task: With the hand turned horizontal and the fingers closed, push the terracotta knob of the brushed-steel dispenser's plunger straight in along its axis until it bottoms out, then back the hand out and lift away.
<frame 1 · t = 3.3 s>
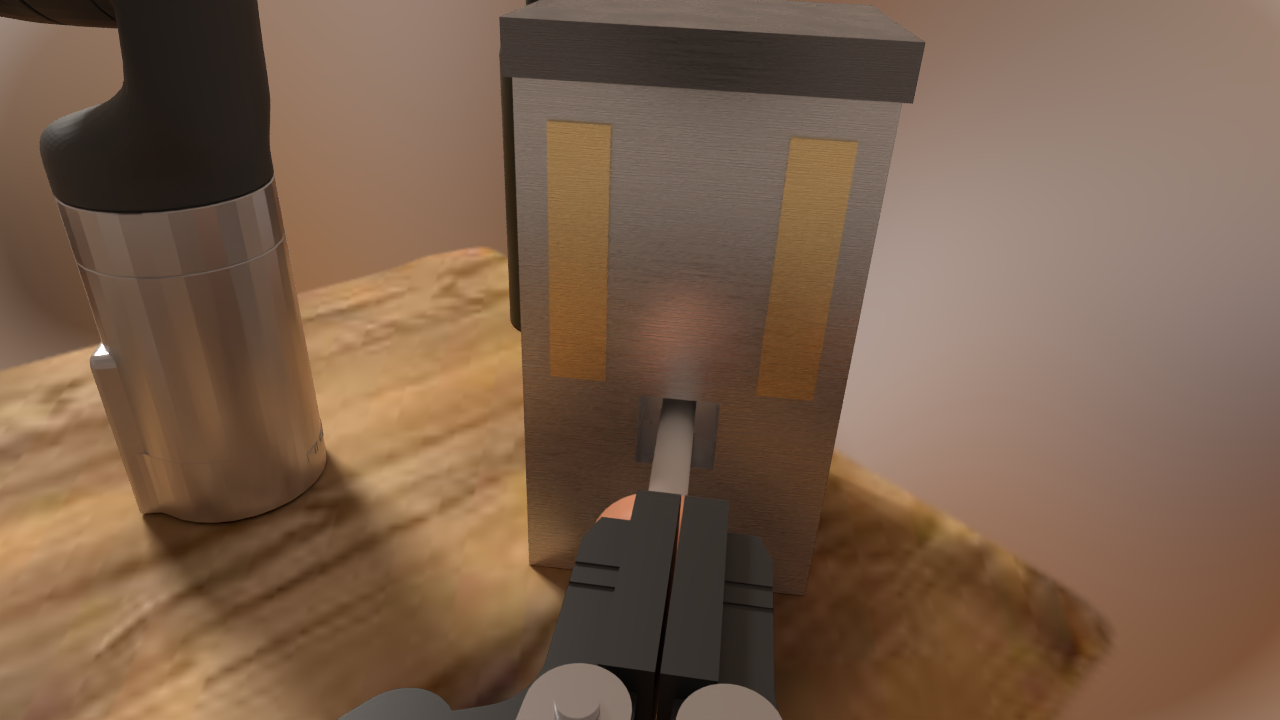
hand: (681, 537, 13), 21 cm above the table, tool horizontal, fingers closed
dispenser: (673, 503, 46), on the table
plunger: (671, 466, 34), point 9 cm above the table, slide at 0.0 cm
wine bottle: (546, 321, 65), on the table
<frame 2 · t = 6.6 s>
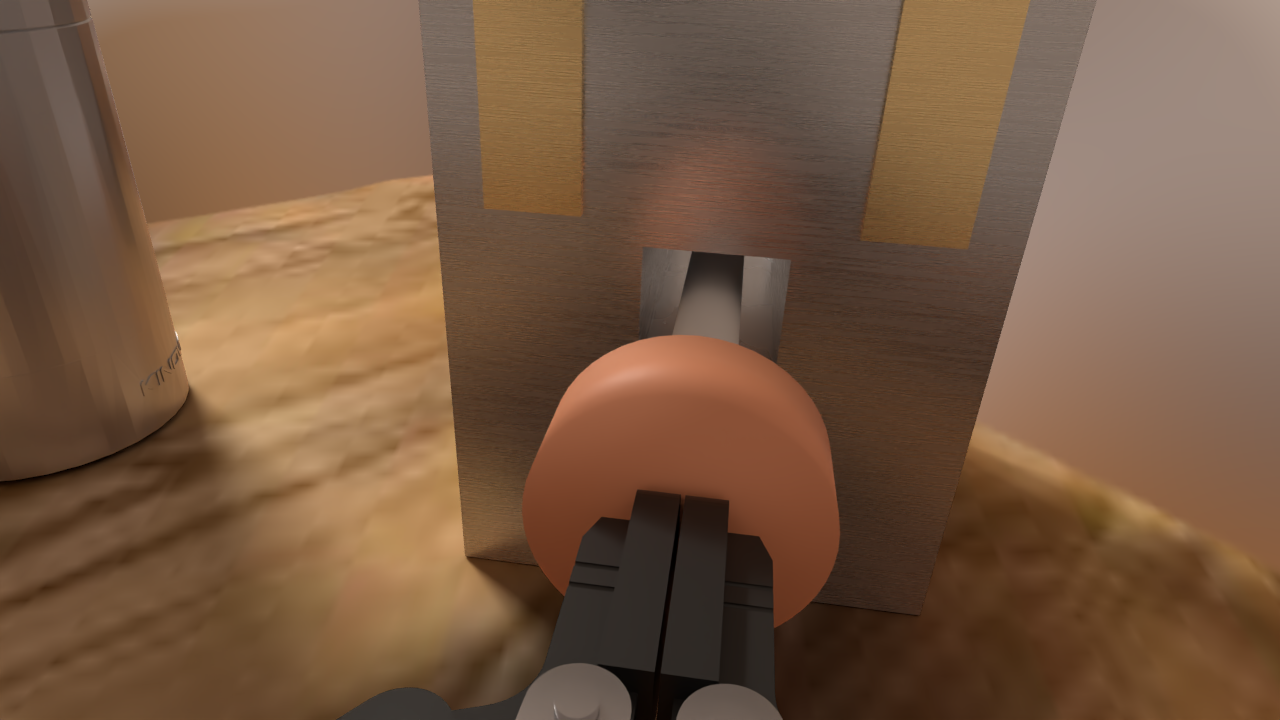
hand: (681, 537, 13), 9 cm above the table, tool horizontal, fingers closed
dispenser: (699, 469, 30), on the table
plunger: (705, 340, 19), point 9 cm above the table, slide at 1.3 cm
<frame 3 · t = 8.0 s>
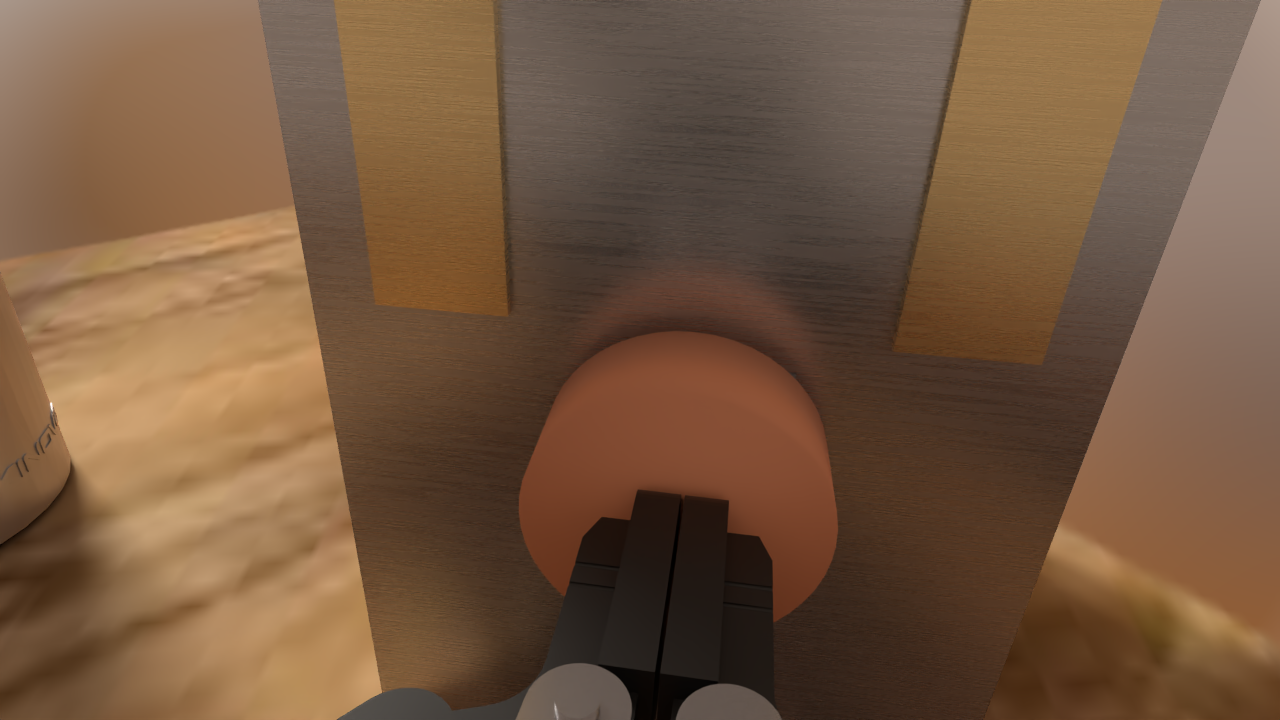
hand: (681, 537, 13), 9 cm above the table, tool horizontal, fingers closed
dispenser: (680, 572, 25), on the table
plunger: (698, 333, 19), point 9 cm above the table, slide at 7.2 cm, touching gripper
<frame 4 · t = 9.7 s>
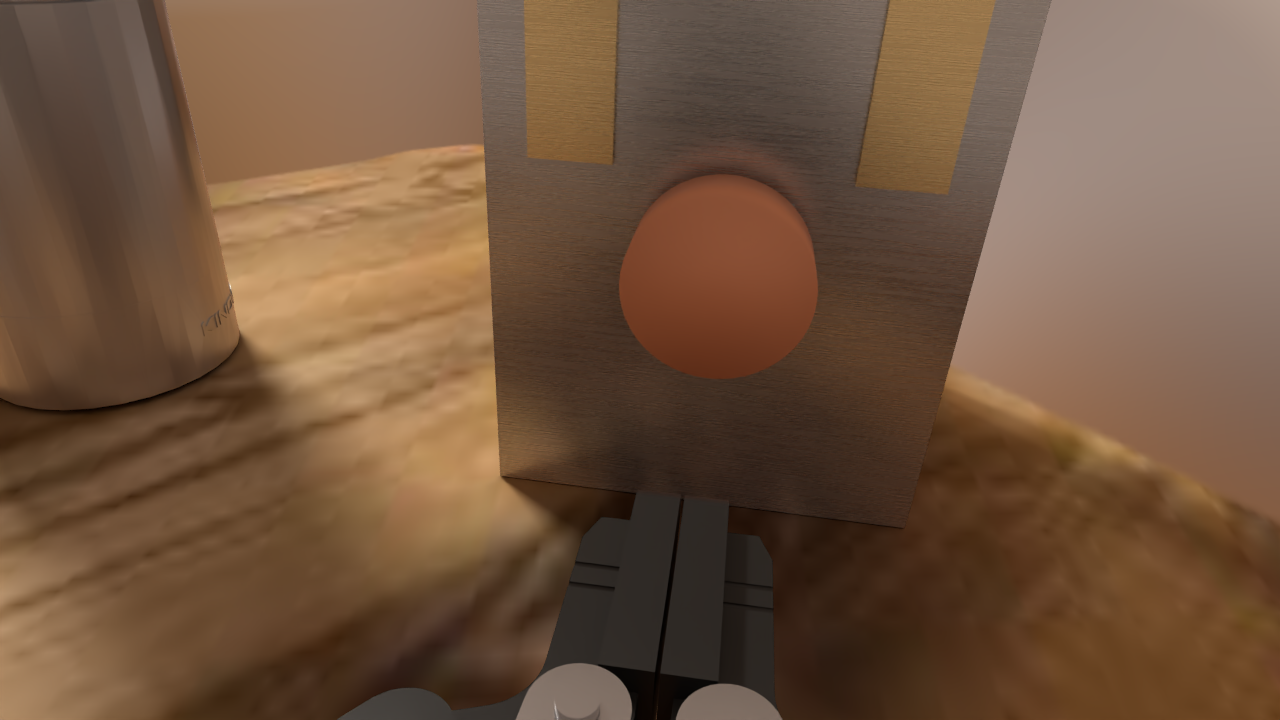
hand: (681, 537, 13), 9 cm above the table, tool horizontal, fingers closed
dispenser: (708, 407, 33), on the table
plunger: (728, 208, 27), point 9 cm above the table, slide at 7.0 cm
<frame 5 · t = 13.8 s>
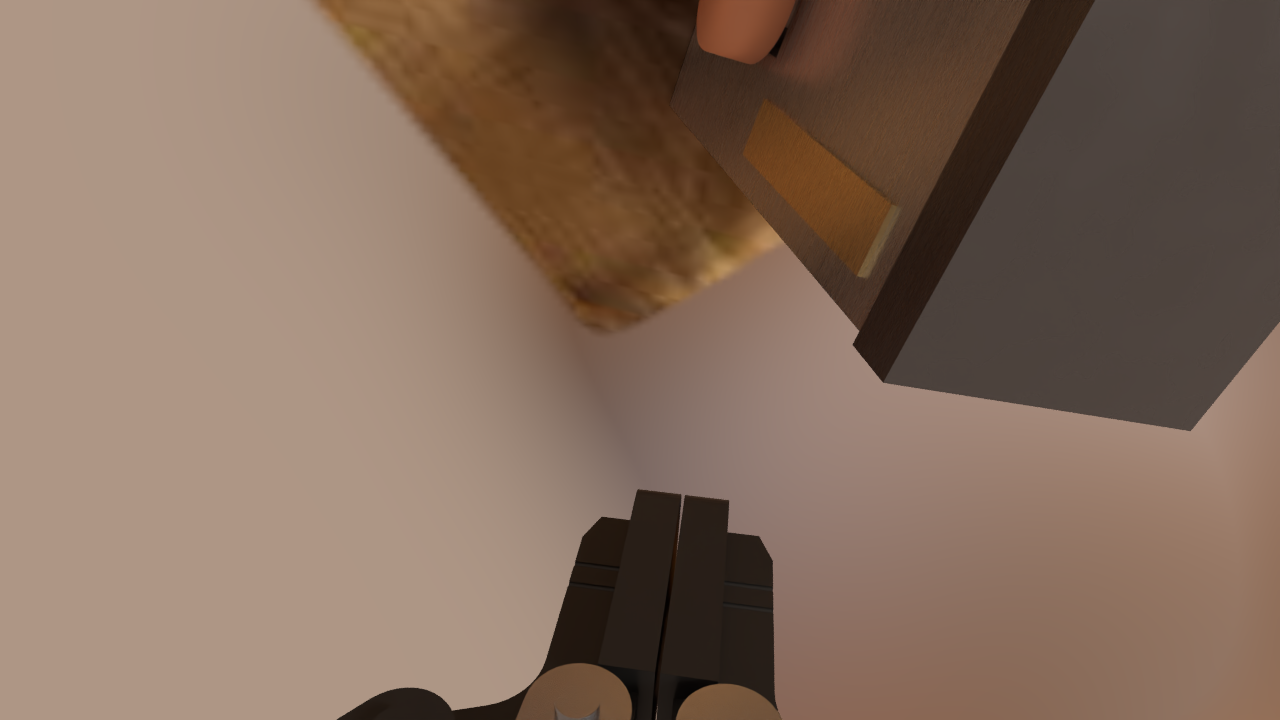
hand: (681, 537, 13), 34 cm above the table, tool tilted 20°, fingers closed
dispenser: (815, 4, 42), on the table
plunger: (869, 33, 34), point 9 cm above the table, slide at 7.0 cm
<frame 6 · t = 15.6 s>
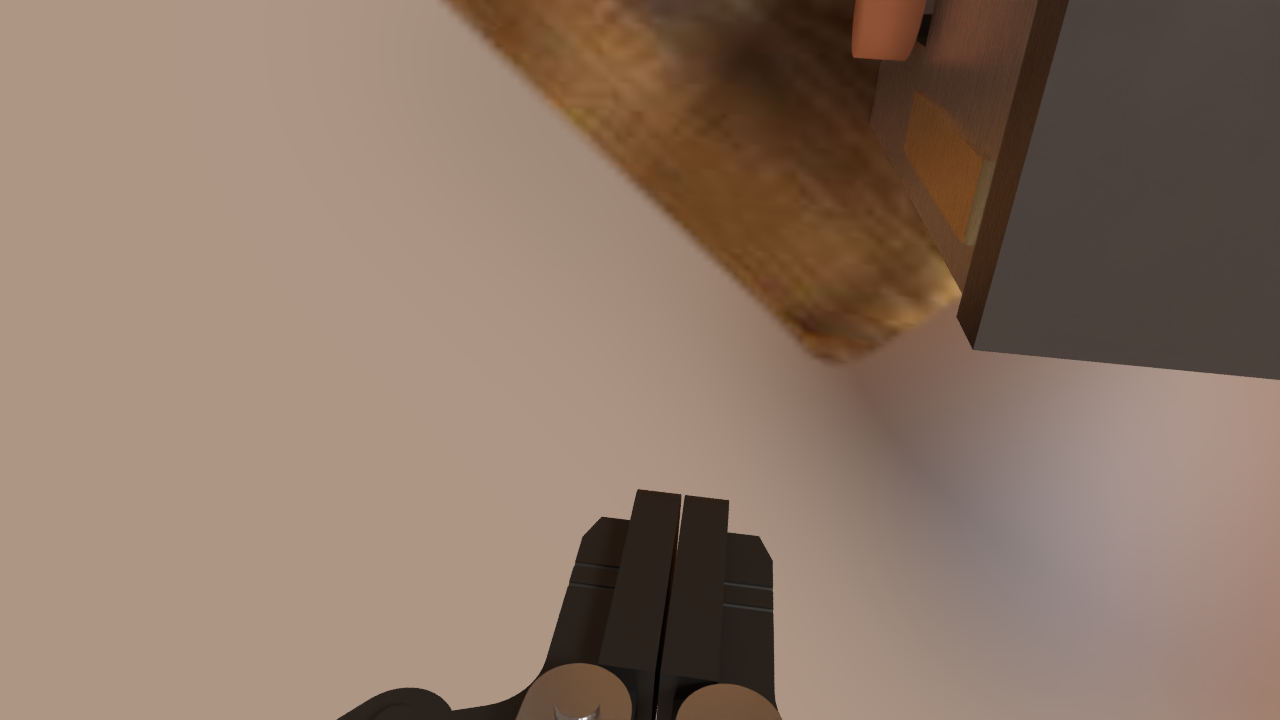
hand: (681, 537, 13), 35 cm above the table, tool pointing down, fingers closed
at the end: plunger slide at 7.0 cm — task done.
